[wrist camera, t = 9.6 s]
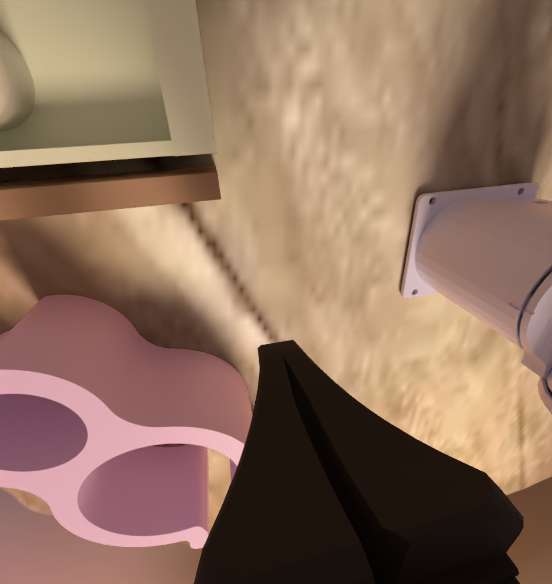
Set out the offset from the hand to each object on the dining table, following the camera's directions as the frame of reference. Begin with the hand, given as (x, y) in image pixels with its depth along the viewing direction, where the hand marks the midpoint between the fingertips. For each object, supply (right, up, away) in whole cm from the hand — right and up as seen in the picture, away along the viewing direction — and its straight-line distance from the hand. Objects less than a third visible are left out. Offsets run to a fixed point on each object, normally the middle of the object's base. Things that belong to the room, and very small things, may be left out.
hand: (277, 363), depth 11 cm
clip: (-10, -5, +12) cm, 17 cm away
